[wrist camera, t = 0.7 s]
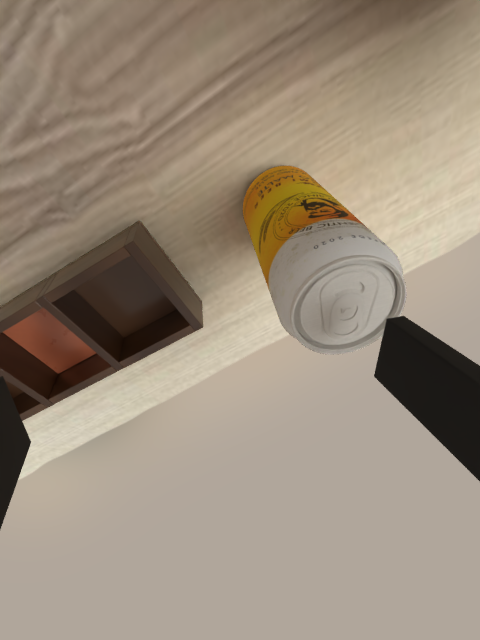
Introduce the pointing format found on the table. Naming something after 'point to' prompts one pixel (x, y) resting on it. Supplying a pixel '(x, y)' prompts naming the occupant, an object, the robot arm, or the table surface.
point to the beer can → (321, 263)
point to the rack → (93, 320)
